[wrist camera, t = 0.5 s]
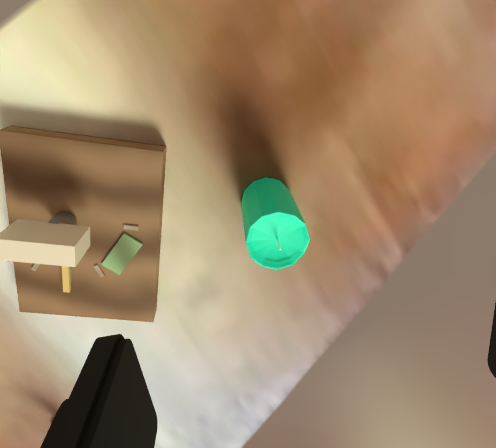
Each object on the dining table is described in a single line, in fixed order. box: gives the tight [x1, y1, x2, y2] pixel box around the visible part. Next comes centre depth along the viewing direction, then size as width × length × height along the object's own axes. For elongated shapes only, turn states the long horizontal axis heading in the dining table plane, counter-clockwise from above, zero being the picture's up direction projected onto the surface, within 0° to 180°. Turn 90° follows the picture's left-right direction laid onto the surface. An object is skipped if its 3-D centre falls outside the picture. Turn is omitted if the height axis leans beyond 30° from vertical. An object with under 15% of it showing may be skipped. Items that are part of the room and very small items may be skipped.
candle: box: [241, 177, 310, 270], centre depth 39 cm, size 6×6×12 cm
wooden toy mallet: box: [0, 211, 90, 293], centre depth 39 cm, size 10×7×7 cm
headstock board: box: [0, 126, 166, 322], centre depth 43 cm, size 22×16×3 cm
